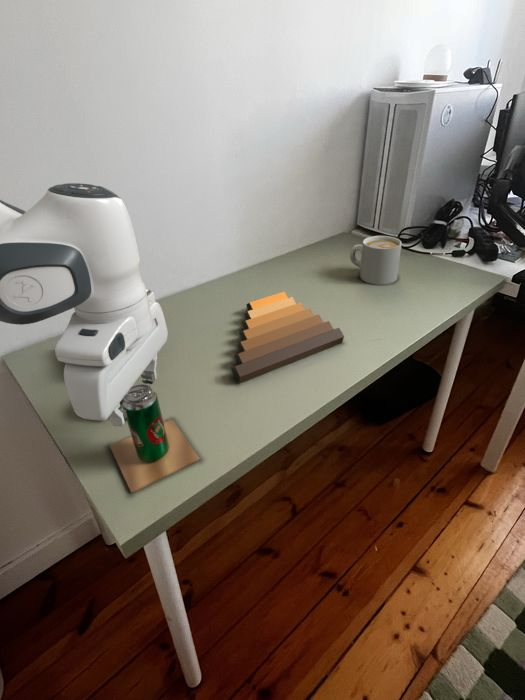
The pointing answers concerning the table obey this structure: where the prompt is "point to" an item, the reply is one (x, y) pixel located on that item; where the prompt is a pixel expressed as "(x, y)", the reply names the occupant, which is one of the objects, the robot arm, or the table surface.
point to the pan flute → (280, 336)
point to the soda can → (146, 423)
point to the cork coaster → (150, 472)
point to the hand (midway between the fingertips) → (136, 400)
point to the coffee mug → (378, 259)
